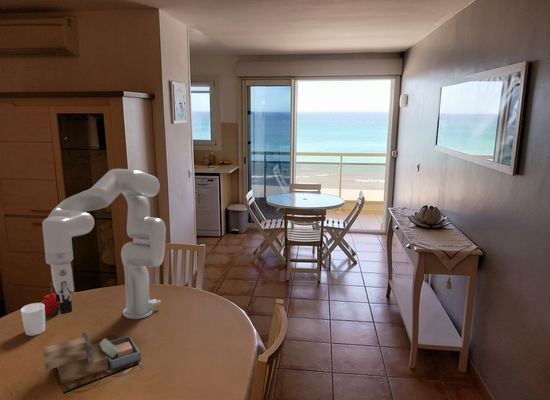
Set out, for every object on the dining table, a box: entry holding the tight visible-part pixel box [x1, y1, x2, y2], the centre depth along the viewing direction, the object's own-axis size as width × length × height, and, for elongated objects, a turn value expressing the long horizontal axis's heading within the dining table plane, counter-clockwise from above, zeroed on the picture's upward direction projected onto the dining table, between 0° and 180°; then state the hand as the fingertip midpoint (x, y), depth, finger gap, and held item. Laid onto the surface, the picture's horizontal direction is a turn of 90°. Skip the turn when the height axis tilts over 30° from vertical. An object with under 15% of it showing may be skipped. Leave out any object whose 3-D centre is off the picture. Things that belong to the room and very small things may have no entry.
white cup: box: [20, 302, 46, 337], centre depth 154 cm, size 8×8×10 cm
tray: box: [105, 335, 141, 371], centre depth 141 cm, size 10×13×3 cm
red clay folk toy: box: [41, 282, 60, 317], centre depth 167 cm, size 8×7×15 cm
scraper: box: [42, 332, 93, 371], centre depth 130 cm, size 13×9×6 cm
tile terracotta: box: [115, 342, 133, 358], centre depth 142 cm, size 5×5×2 cm
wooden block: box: [56, 342, 109, 384], centre depth 134 cm, size 14×11×4 cm
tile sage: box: [98, 338, 118, 358], centre depth 138 cm, size 5×5×2 cm
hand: (64, 306), depth 127 cm, fingers open, 9 cm apart
